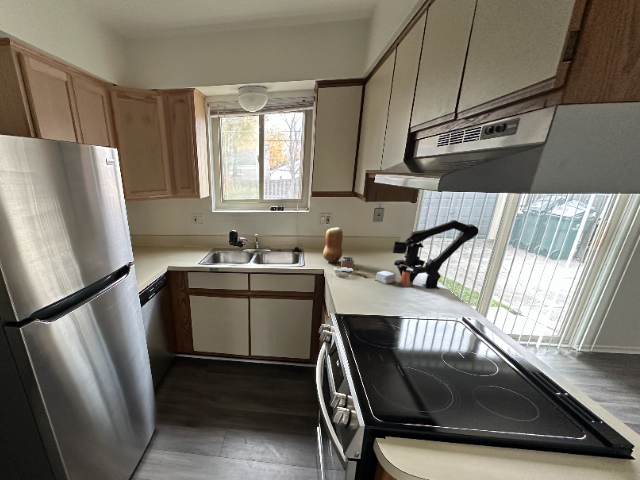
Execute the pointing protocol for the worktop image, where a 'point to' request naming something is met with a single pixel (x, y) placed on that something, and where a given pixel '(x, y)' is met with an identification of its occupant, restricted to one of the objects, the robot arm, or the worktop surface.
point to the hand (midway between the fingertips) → (407, 280)
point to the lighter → (348, 262)
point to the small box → (385, 277)
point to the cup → (406, 278)
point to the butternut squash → (333, 245)
